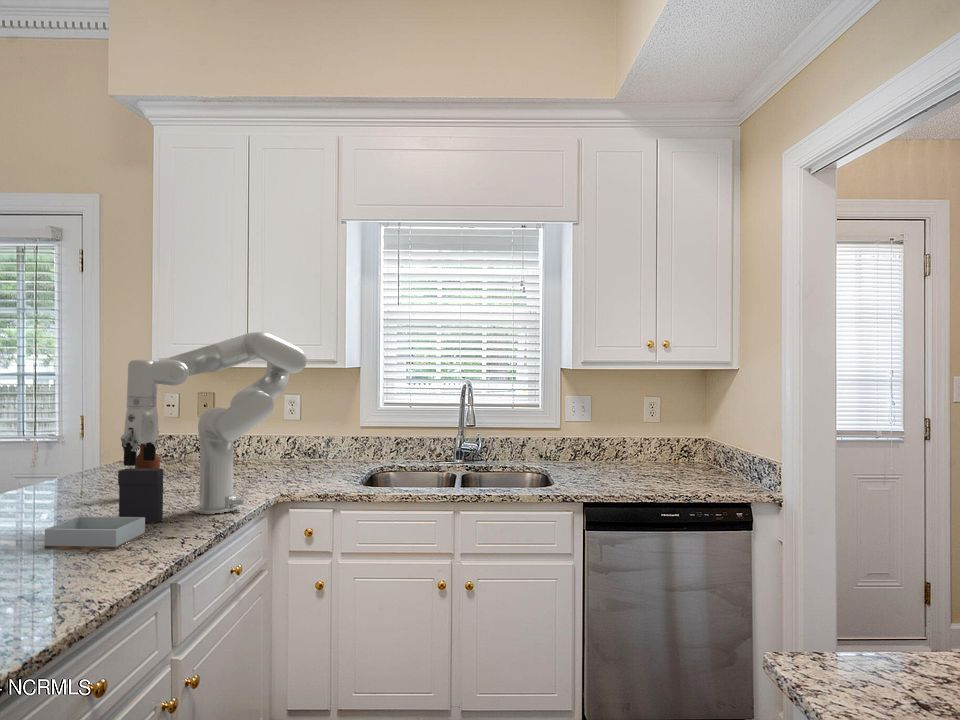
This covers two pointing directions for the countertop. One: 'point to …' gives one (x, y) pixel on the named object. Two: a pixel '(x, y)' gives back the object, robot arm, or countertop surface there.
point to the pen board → (89, 546)
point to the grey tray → (95, 531)
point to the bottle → (146, 464)
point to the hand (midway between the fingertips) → (139, 463)
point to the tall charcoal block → (141, 493)
